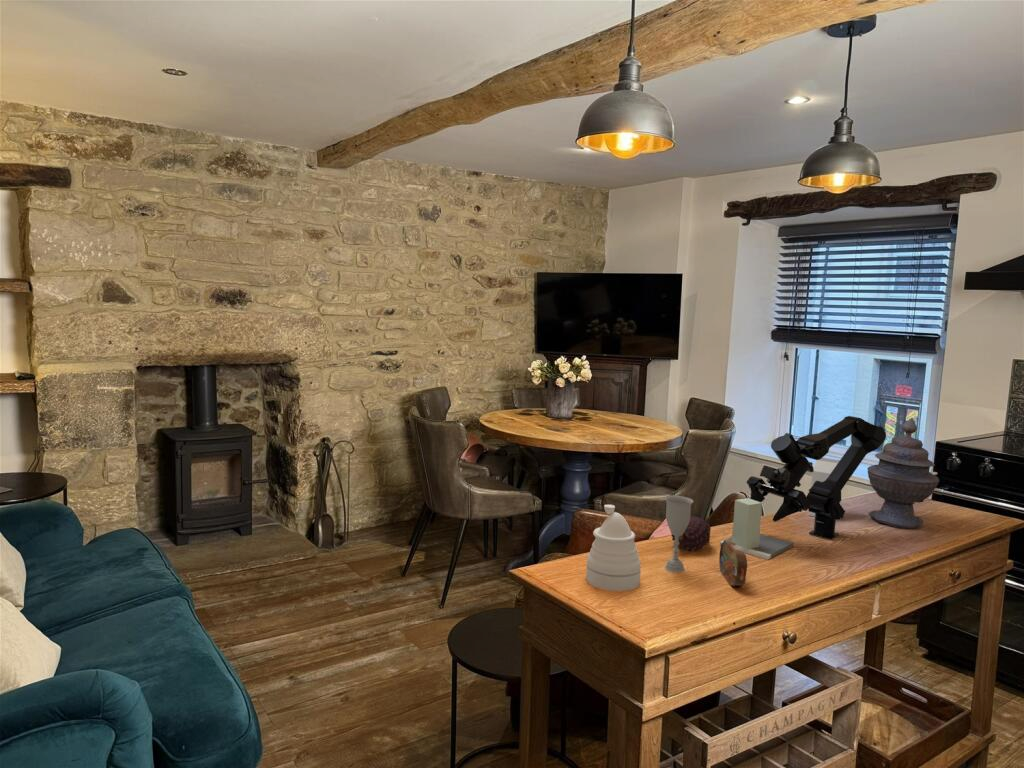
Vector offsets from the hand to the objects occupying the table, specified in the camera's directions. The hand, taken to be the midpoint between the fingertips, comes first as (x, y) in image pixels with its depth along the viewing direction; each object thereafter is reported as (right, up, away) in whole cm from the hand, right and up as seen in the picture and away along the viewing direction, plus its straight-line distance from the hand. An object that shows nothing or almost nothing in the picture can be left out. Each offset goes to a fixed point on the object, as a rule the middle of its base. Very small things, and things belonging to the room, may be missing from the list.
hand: (760, 515), depth 196 cm
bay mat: (-1, -9, +2) cm, 9 cm away
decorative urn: (+54, -8, +28) cm, 61 cm away
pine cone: (-20, -9, -2) cm, 22 cm away
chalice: (-28, -10, -18) cm, 35 cm away
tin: (-15, -11, -23) cm, 30 cm away
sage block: (-5, -8, -1) cm, 9 cm away
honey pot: (-45, -11, -26) cm, 53 cm away
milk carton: (+32, -6, +33) cm, 46 cm away
